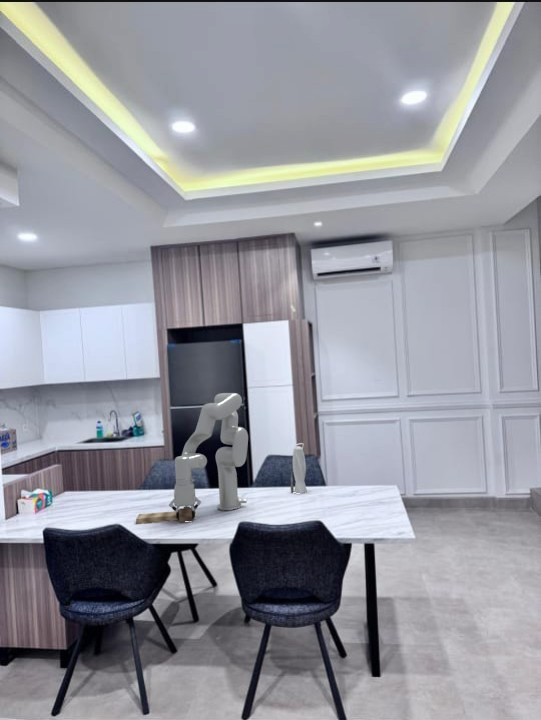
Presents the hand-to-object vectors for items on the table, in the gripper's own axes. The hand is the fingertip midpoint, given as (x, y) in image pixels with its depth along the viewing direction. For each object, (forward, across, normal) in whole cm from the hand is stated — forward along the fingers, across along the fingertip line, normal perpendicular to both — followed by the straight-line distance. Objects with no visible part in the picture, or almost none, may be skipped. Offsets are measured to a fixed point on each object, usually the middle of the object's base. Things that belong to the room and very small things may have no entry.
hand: (185, 518), depth 234 cm
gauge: (+1, 0, -4) cm, 4 cm away
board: (+1, +10, -6) cm, 12 cm away
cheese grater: (+2, -62, -38) cm, 73 cm away
